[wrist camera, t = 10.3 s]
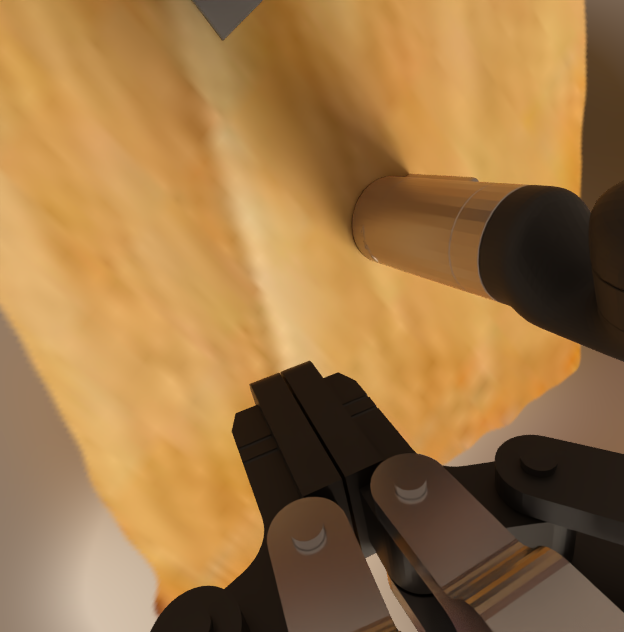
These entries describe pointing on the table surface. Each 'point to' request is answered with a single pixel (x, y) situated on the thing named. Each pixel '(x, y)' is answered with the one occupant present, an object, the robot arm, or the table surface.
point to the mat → (225, 13)
